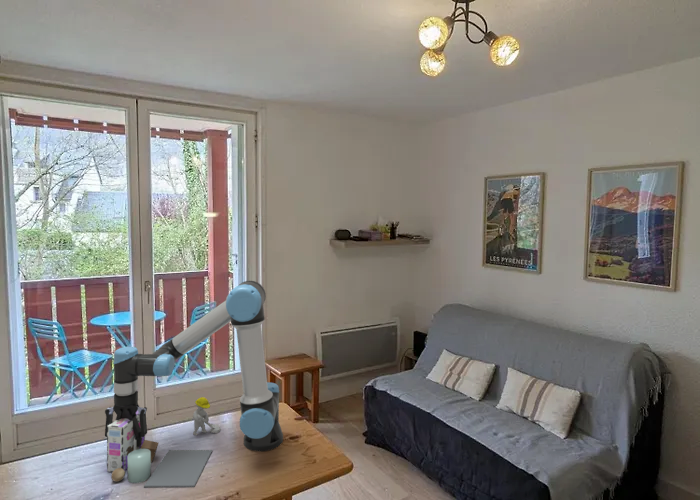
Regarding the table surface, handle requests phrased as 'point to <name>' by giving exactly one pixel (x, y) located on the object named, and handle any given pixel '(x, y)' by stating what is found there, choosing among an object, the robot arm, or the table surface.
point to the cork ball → (118, 474)
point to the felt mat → (179, 469)
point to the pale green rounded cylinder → (139, 465)
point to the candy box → (120, 443)
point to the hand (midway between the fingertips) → (126, 454)
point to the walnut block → (150, 447)
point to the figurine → (200, 420)
